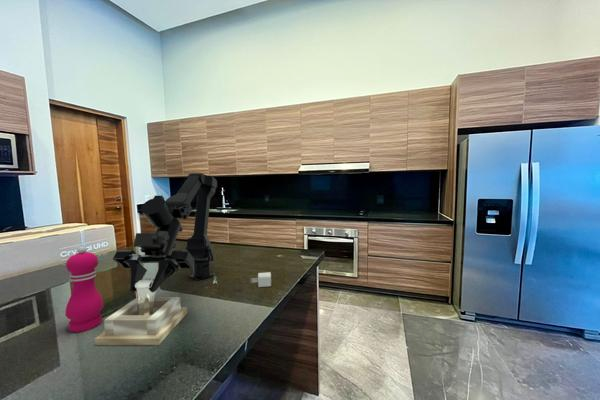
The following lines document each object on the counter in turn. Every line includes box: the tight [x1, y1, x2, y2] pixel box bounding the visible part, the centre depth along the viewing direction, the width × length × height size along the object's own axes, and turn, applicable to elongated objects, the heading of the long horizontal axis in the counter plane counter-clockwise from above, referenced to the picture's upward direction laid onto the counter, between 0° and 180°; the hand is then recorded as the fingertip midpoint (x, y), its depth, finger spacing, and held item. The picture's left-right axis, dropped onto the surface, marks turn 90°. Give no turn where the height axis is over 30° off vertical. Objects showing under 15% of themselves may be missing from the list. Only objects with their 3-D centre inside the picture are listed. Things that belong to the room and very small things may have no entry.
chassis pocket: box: [94, 296, 188, 346], centre depth 62 cm, size 14×14×5 cm
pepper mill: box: [64, 246, 104, 333], centre depth 62 cm, size 7×7×20 cm
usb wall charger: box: [250, 271, 272, 288], centre depth 87 cm, size 4×7×4 cm, turn 100°
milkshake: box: [135, 277, 157, 315], centre depth 61 cm, size 4×5×10 cm
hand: (141, 291), depth 60 cm, fingers closed on milkshake, 4 cm apart
